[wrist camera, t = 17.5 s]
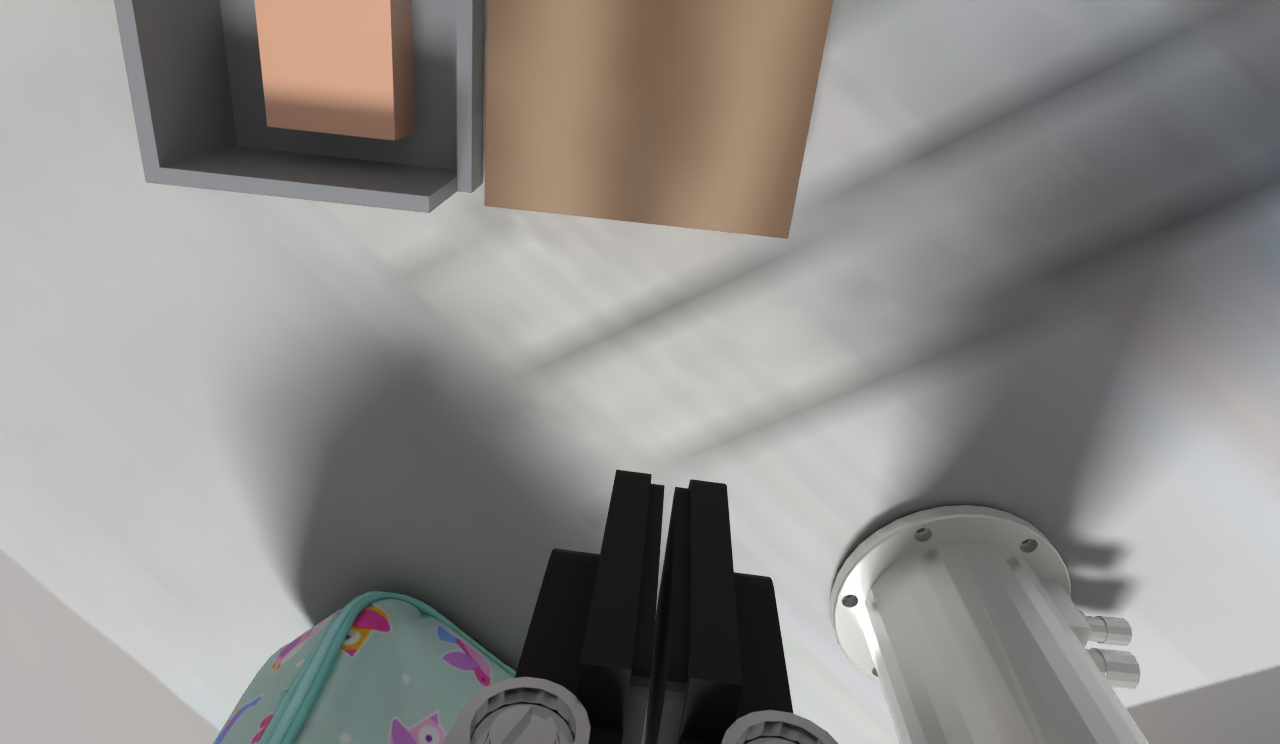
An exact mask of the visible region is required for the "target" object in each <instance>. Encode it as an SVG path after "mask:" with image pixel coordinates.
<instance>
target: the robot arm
mask: <svg viewBox="0 0 1280 744" xmlns="http://www.w3.org/2000/svg"><path fill="white" fill-rule="evenodd" d="M663 499H664V485H656V484H651V474H645V473H638V472H630V471H622V470H616V475H615V480H614V485H613V491H612V496H611V501H610V506H609V511H608V517H607V522H606V527H605V532H604V538H603V543H602V548H601V553H600V555H599V554H592V553H584V552H577V551H569V550H562V549H553V550H552V553H551V556H550V559H549V562H548V565H547V569H546V572H545V576H544V579H543V583H542V586H541V589H540V593H539V596H538V600H537V603H536V606H535V610H534V613H533V617H532V620H531V624H530V627H529V630H528V634H527V637H526V641H525V644H524V648H523V651H522V654H521V658H520V661H519V665H518V668H517V672H516V675H515V678H510V679H505V680H502V681H500V682H497V683H494V684H491V685H489V686H487V687H486V688H484V689H483V690H481V691H480V692H478V693H477V694H476V695H474V696H473V697H472V698H471V699H470V700H469V702H468V703H467V704H466V705H465V707H464V708H463V709H462V710H461V712H460V714H459V715H458V717H457V719H456V721H455V723H454V724H453V726H452V728H451V730H450V732H449V733H448V735H447V737H446V739H445V740H444V742H443V744H641V739H642V733H643V726H644V719H645V713H646V706H647V700H648V708H647V722H646V736H645V744H838V743H837V742H836V741H835V740H834V739H833V738H832V737H831V736H830V734H829V733H828V732H826V731H825V730H823V729H822V728H820V727H819V726H817V725H816V724H814V723H813V722H811V721H810V720H808V719H805V718H802V717H800V716H797V715H795V714H793V709H792V702H791V696H790V689H789V683H788V676H787V670H786V664H785V657H784V651H783V644H782V638H781V631H780V625H779V618H778V612H777V605H776V599H775V592H774V586H773V582H772V579H771V578H770V577H765V576H757V575H750V574H742V573H735V572H734V571H733V559H732V546H731V533H730V521H729V508H728V496H727V486H726V484H722V483H714V482H706V481H699V480H690V483H689V488H688V489H687V488H679V487H675V492H674V498H673V505H672V511H671V518H670V525H669V531H668V538H667V545H666V552H665V558H664V565H663V572H662V578H661V585H660V592H659V598H658V605H657V612H656V601H657V587H658V572H659V558H660V543H661V528H662V514H663ZM830 613H831V619H832V625H833V628H834V631H835V634H836V637H837V641H838V644H839V645H840V647H841V649H842V650H843V652H844V654H845V655H846V657H847V658H848V659H849V660H850V661H851V662H852V663H853V664H854V666H855V667H856V668H857V669H858V670H860V671H861V672H862V673H864V674H865V675H867V676H868V677H869V678H871V679H873V680H875V681H877V682H879V683H881V686H882V689H883V692H884V695H885V699H886V702H887V705H888V708H889V711H890V714H891V717H892V720H893V723H894V726H895V729H896V732H897V736H898V739H899V742H900V744H1149V743H1148V741H1147V740H1146V738H1145V737H1144V735H1143V734H1142V732H1141V731H1140V729H1139V728H1138V726H1137V725H1136V723H1135V722H1134V720H1133V719H1132V717H1131V716H1130V714H1129V713H1128V711H1127V710H1126V708H1125V707H1124V705H1123V704H1122V702H1121V701H1120V699H1119V698H1118V697H1117V695H1116V694H1115V692H1114V691H1113V689H1112V688H1118V689H1128V690H1130V689H1134V688H1136V686H1137V685H1138V683H1139V679H1140V670H1139V665H1138V663H1137V661H1136V659H1135V657H1134V656H1133V655H1132V654H1131V653H1130V652H1126V651H1116V650H1107V649H1097V648H1091V649H1085V645H1086V643H1087V641H1095V642H1098V643H1102V644H1111V645H1121V646H1127V645H1128V644H1129V643H1130V642H1131V638H1132V631H1131V627H1130V625H1129V623H1128V622H1127V621H1126V620H1125V619H1124V618H1114V617H1104V616H1096V617H1092V616H1085V615H1084V613H1083V612H1082V611H1080V610H1078V609H1077V607H1076V606H1075V605H1074V603H1073V602H1072V600H1071V582H1070V579H1069V575H1068V571H1067V568H1066V565H1065V564H1064V562H1063V560H1062V558H1061V557H1060V555H1059V553H1058V552H1057V550H1056V549H1055V548H1054V546H1053V545H1052V544H1051V543H1050V541H1049V540H1048V539H1047V538H1046V536H1045V535H1044V534H1043V533H1041V532H1040V531H1039V530H1038V529H1036V528H1035V527H1034V526H1033V525H1031V524H1030V523H1029V522H1027V521H1025V520H1023V519H1021V518H1019V517H1017V516H1015V515H1013V514H1011V513H1008V512H1004V511H1001V510H997V509H993V508H990V507H981V506H972V505H957V506H942V507H937V508H932V509H927V510H922V511H918V512H916V513H913V514H910V515H908V516H905V517H902V518H900V519H897V520H895V521H893V522H892V523H890V524H888V525H886V526H884V527H883V528H881V529H879V530H877V531H876V532H875V533H873V534H872V535H871V536H870V537H868V538H867V539H866V540H865V541H863V542H862V543H861V544H860V545H859V546H858V547H857V548H856V549H855V550H854V551H853V553H852V554H851V555H850V556H849V557H848V558H847V559H846V561H845V563H844V564H843V566H842V568H841V569H840V571H839V573H838V575H837V577H836V580H835V583H834V586H833V589H832V592H831V602H830ZM655 616H656V618H655ZM648 693H649V694H648Z"/></svg>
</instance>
